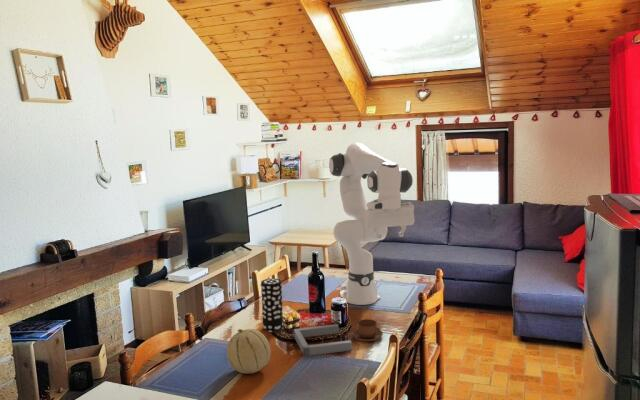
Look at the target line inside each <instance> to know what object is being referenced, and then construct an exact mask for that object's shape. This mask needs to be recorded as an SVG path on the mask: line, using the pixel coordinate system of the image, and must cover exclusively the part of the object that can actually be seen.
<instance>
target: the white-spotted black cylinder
mask: <svg viewBox="0 0 640 400" xmlns="http://www.w3.org/2000/svg"><path fill="white" fill-rule="evenodd" d="M260 284H261V286H260V287H261V288H260V289H261V307H262V310H261V311H262V314H261V315H262V330H263V331H265V332H268V333H276V332H280V331H282V330H284V309H283V285H282V284H283V282H282V280H281V279H279V278H266V279H263V280H261V282H260ZM282 326H283V327H282Z"/></svg>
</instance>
